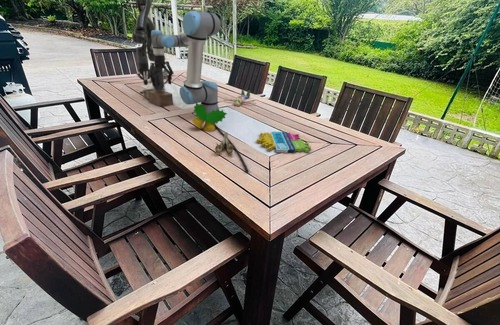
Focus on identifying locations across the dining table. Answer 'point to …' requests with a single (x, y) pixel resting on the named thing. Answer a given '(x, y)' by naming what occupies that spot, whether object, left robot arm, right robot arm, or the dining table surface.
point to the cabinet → (160, 98)
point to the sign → (283, 142)
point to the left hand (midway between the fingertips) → (145, 84)
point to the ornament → (207, 117)
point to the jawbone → (224, 145)
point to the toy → (241, 99)
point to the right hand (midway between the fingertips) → (162, 85)
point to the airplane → (163, 75)
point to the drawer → (146, 93)
